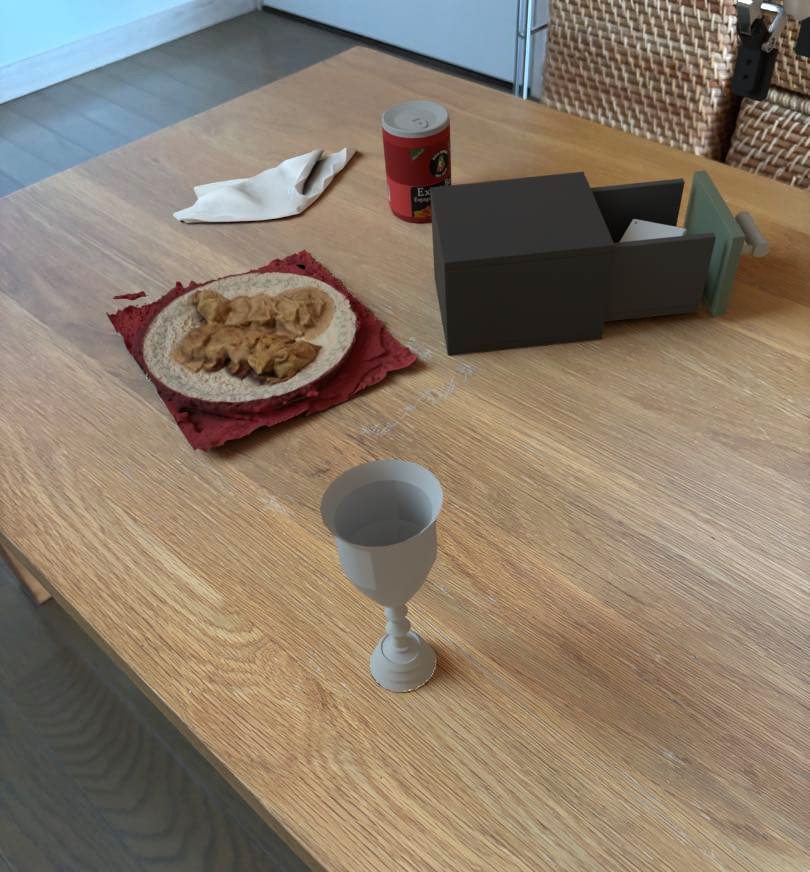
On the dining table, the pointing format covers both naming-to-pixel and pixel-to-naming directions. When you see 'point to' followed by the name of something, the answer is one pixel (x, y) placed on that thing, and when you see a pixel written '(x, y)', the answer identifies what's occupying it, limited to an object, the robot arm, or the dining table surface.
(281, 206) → the cloth
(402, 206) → the canned food
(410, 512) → the chalice
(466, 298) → the cabinet
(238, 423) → the plate with food
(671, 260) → the drawer
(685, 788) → the dining table surface
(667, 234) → the small box
